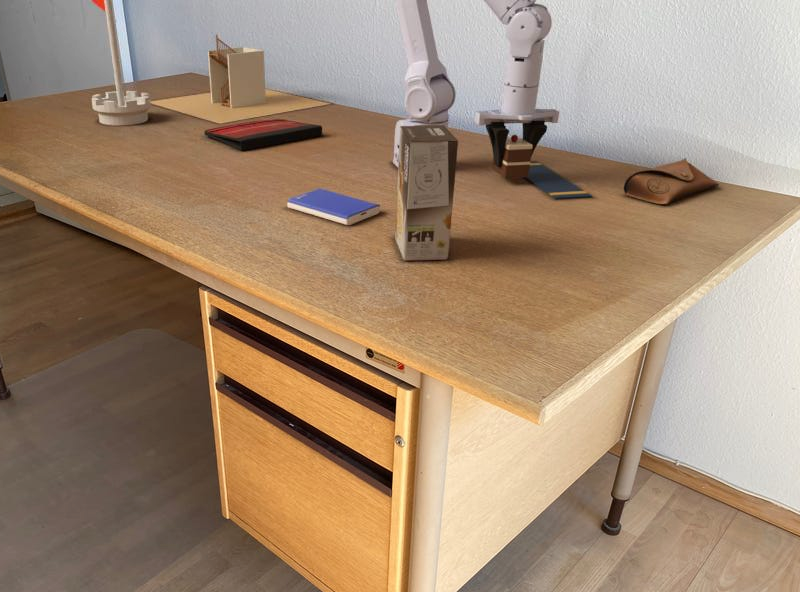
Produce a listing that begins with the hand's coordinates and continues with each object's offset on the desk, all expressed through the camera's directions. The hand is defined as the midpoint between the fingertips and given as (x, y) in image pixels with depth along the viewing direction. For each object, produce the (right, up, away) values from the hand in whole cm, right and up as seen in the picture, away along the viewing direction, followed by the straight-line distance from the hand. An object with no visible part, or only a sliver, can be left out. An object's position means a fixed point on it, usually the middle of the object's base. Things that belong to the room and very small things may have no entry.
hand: (510, 164), depth 132 cm
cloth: (+7, -2, +2) cm, 7 cm away
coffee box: (-19, -19, -27) cm, 39 cm away
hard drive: (-31, -11, -14) cm, 36 cm away
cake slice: (0, -1, +1) cm, 1 cm away
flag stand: (-81, +21, +41) cm, 93 cm away
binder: (-47, +13, +29) cm, 57 cm away
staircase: (-56, +32, +60) cm, 88 cm away
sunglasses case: (+27, -6, -3) cm, 28 cm away
